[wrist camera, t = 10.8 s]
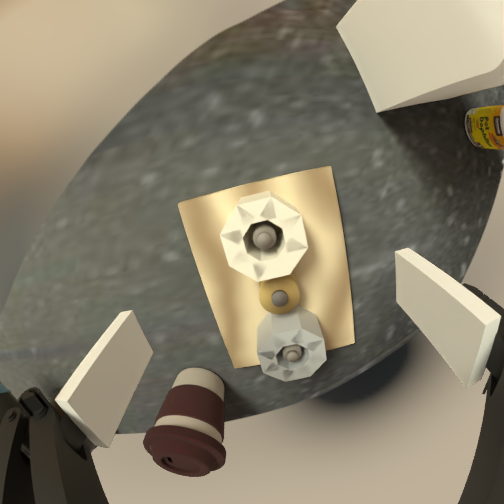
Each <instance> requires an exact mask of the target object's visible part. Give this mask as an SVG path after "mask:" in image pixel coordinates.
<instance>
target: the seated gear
mask: <svg viewBox="0 0 504 504" xmlns="http://www.w3.org/2000/svg"><path fill="white" fill-rule="evenodd" d="M293 344H298V345H300V347H301V352H302V355H301V357H300V358H299V359H298V360H297V361H295V362H290V361H287V360H286V359H284V357H283V351H282V347H284V346H289V345H293ZM257 355H258V358H259V361H260V364H261V367H262V371H263V373H265V374H268V375H270V376H272V377H275V378H277V379H280V380H282V381H291V380H296V379H301V378H305V377H310V376H311V375H312V374H313V373H314V372H315V371H316V370H317V369H318V368H319V367H320V366H321V365H322V364H323V363H324V362H325V361H326V360H327V359H326V351H325V344H324V338H323V335H322V332H321V329H320V326H319V323H318V320H317V317H316V314H314V313H312V312H310V311H308V310H306V309H305V308H303V307H301V306H299V305H296V307H295V308H294V309H293V310H291V311H290V312H287V313H284V314H273V313H270V312H268V314H267V315H266V316H265V318H264V319H263V320H262V322H261V323H260V324H259V326H258V327H257Z"/></svg>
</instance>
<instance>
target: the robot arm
mask: <svg viewBox="0 0 504 504" xmlns="http://www.w3.org/2000/svg"><path fill="white" fill-rule="evenodd" d="M395 263H396V302H397V303H398V304H399V305H400V306H401V307H402V309H403V310H404V311H405V312H406V313H407V314H408V316H409V317H410V318H411V319H412V320H413V321H414V323H415V324H416V325H417V326H418V327H419V329H420V330H421V331H422V332H423V333H424V335H425V336H426V337H427V338H428V339H429V341H430V342H431V343H432V344H433V346H434V347H435V348H436V349H437V350H438V352H439V353H440V354H441V356H442V357H443V358H444V359H445V361H446V362H447V363H448V365H449V366H450V367H451V369H452V370H453V371H454V373H455V374H456V375H457V377H458V378H459V379H460V380H461V382H462V384H463V385H464V386H465V388H468V387H469V386H471V385H473V384H474V383H476V382H478V381H479V380H481V379H482V376H483V374H484V371H485V368H487V369H488V370H489V371H490V372H491V373H490V376H489V378H488V381H487V383H486V385H485V388H484V390H483V394H485V392H486V390H487V396H486V403H485V410H484V417H483V422H482V427H481V432H480V436H479V440H478V445H477V449H476V452H475V456H474V460H473V463H472V467H471V470H470V473H469V476H468V479H467V482H466V484H465V487H464V490H463V493H462V495H461V498H460V500H459V503H458V504H504V309H503V308H502V307H501V306H499V305H498V304H497V303H496V302H494V301H493V300H492V299H489V297H488V296H486V295H485V294H484V295H483V293H482V292H481V291H480V290H478V289H477V288H476V287H473V286H471V285H468V284H462V285H461V284H460V283H458V282H457V281H456V280H454V279H453V278H452V277H450V276H449V275H447V274H446V273H445V272H443V271H442V270H440V269H439V268H437V267H436V266H435V265H433V264H432V263H430V262H429V261H427V260H426V259H424V258H423V257H421V256H420V255H418V254H417V253H415V252H414V251H412V250H411V249H409V248H406V249H402V250H398V251H395ZM152 354H153V351H152V349H151V347H150V345H149V344H148V342H147V340H146V338H145V336H144V334H143V332H142V330H141V328H140V326H139V323H138V321H137V319H136V317H135V315H134V313H133V311H132V310H131V311H125V312H121V313H120V314H119V315H118V316H117V318H116V319H115V320H114V321H113V323H112V324H111V325H110V326H109V327H108V329H107V330H106V331H105V333H104V334H103V335H102V336H101V338H100V339H99V340H98V341H97V343H96V344H95V345H94V347H93V348H92V349H91V350H90V352H89V353H88V354H87V356H86V357H85V358H84V360H83V361H82V362H81V364H80V365H79V366H78V368H77V369H76V370H75V371H74V373H73V374H72V375H71V377H70V379H69V380H68V381H67V382H66V384H65V385H64V387H63V388H62V389H57V390H56V391H55V392H54V394H53V395H52V396H51V399H50V403H49V401H48V400H47V399H46V398H45V396H44V395H43V394H42V392H41V391H40V390H39V389H38V388H37V387H33V388H30V389H28V390H26V391H25V392H24V393H22V394H21V396H20V397H19V399H18V400H17V399H16V398H15V397H14V396H13V395H12V394H11V391H10V390H8V389H7V388H6V387H5V386H4V385H3V384H2V383H1V382H0V504H109V503H108V501H107V498H106V496H105V493H104V491H103V488H102V485H101V483H100V480H99V477H98V475H97V472H96V469H95V466H94V463H93V459H92V456H91V452H92V451H93V450H94V449H95V448H96V447H97V446H100V447H106V448H109V446H110V444H111V441H112V439H113V437H114V435H115V433H116V430H117V428H118V426H119V424H120V421H121V419H122V417H123V415H124V413H125V411H126V408H127V406H128V404H129V402H130V400H131V398H132V395H133V393H134V391H135V389H136V387H137V385H138V383H139V381H140V379H141V377H142V375H143V373H144V370H145V368H146V366H147V364H148V362H149V360H150V358H151V356H152Z"/></svg>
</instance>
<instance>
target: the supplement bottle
mask: <svg viewBox="0 0 504 504" xmlns="http://www.w3.org/2000/svg"><path fill="white" fill-rule="evenodd" d="M465 129H466V133H467V135H468V137H469V139H470V141H471V142H472V143H473V144H474V145H475V146H477V147H479V148H488V149H500V150H504V105H500V106H490V107H481V108H473V109H470V110H469V111H468V112H467V114H466V116H465Z"/></svg>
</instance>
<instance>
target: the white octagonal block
mask: <svg viewBox="0 0 504 504" xmlns="http://www.w3.org/2000/svg"><path fill="white" fill-rule="evenodd" d="M265 220H269V221H270V222H272V223H274V224H275V225H277V226H279V227H280V228H281V232H280V233H279V235H278V236H277V238H276V242H275V244H274V246H273V247H271V248H269V249H265V250H264V249H260V248H258V247H257V246H256V245H255V244H254V242H253V240H252V239H250V238H249V236H248V232H247V230H248V228H249V227H250V225H251V224H253V223H257V222H261V221H265ZM220 237H221V241H222V244H223V248H224V251H225V254H226V258H227V261H228V264H229V266H230V267H232V268H233V269H235V270H237V271H239V272H241V273H242V274H244V275H246V276H248V277H250V278H251V279H253V280H255V281H257V282H259V281H264V280H268V279H273V278H277V277H282V276H286V275H290V273H291V272H292V271H293V269H294V268H295V266H296V265H297V263H298V262H299V260H300V259H301V257H302V256H303V254H304V253H305V252H306V250H307V249H308V245H307V240H306V235H305V230H304V225H303V221H302V216H301V214H300V213H299V211H298V210H297V209H296V208H295V206H294V205H292V204H290V203H289V202H287V201H286V200H284V199H282V198H281V197H279V196H277V195H276V194H274V193H272V192H271V191H266V192H262V193H258V194H254V195H250V196H246V197H242V198H240V200H239V202H238V203H237V205H236V207H235V209H234V210H233V212H232V214H231V215H230V217H229V219H228V220H227V222H226V224H225V226H224V228H223V229H222V231H221V233H220Z"/></svg>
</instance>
